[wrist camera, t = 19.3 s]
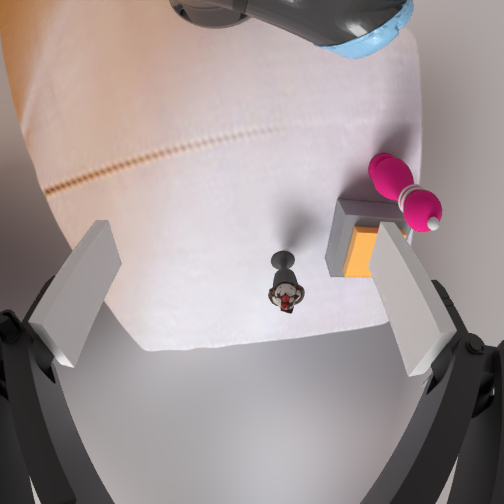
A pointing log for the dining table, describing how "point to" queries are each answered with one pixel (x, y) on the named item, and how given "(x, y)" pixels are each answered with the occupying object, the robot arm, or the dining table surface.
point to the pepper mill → (405, 192)
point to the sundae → (285, 283)
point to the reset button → (361, 251)
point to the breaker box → (357, 215)
